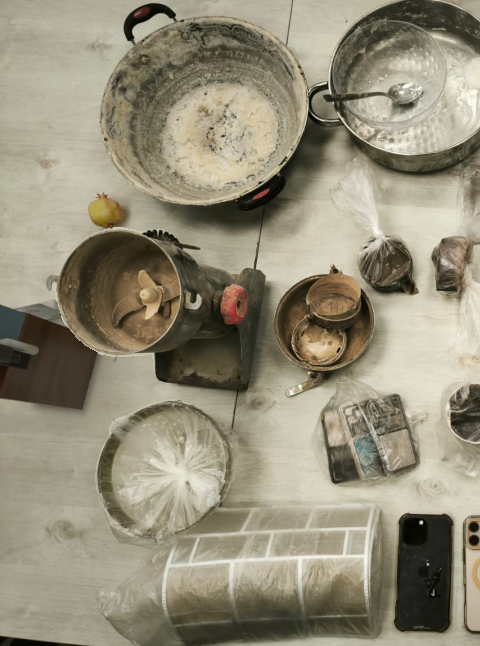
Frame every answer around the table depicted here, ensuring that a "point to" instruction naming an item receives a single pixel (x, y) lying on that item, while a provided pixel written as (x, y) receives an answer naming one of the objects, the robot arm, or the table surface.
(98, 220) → the fruit
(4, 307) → the door
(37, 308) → the ink box
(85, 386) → the cabinet
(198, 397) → the table surface
